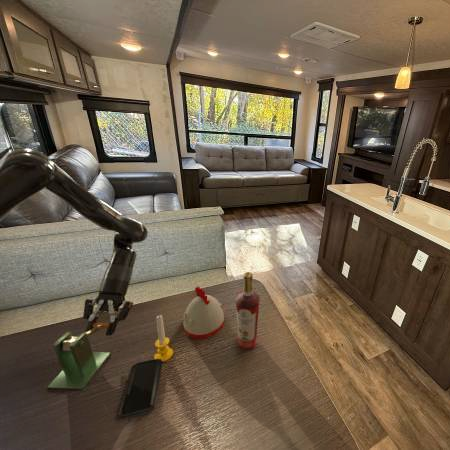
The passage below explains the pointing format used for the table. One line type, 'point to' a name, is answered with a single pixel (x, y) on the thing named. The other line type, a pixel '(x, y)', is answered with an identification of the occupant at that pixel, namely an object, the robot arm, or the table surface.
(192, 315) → the kitchen timer
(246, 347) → the liquor
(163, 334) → the candle
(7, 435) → the table surface
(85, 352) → the bracket
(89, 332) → the lever
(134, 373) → the phone
